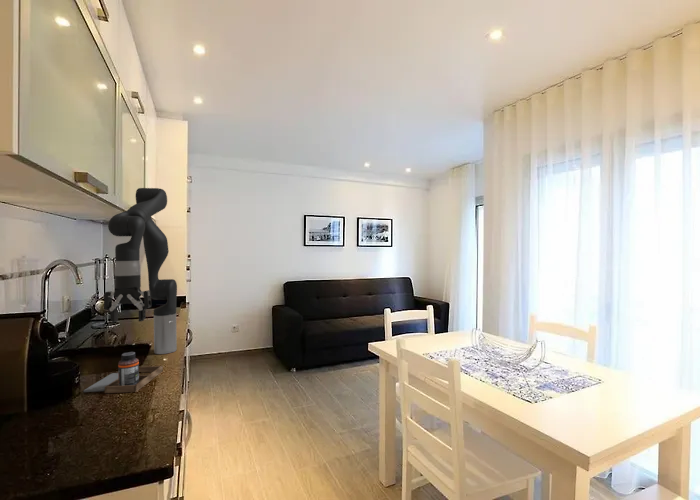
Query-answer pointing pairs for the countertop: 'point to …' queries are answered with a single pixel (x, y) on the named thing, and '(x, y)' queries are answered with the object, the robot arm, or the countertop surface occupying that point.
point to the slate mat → (102, 383)
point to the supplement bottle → (128, 369)
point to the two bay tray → (143, 380)
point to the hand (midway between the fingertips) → (128, 321)
